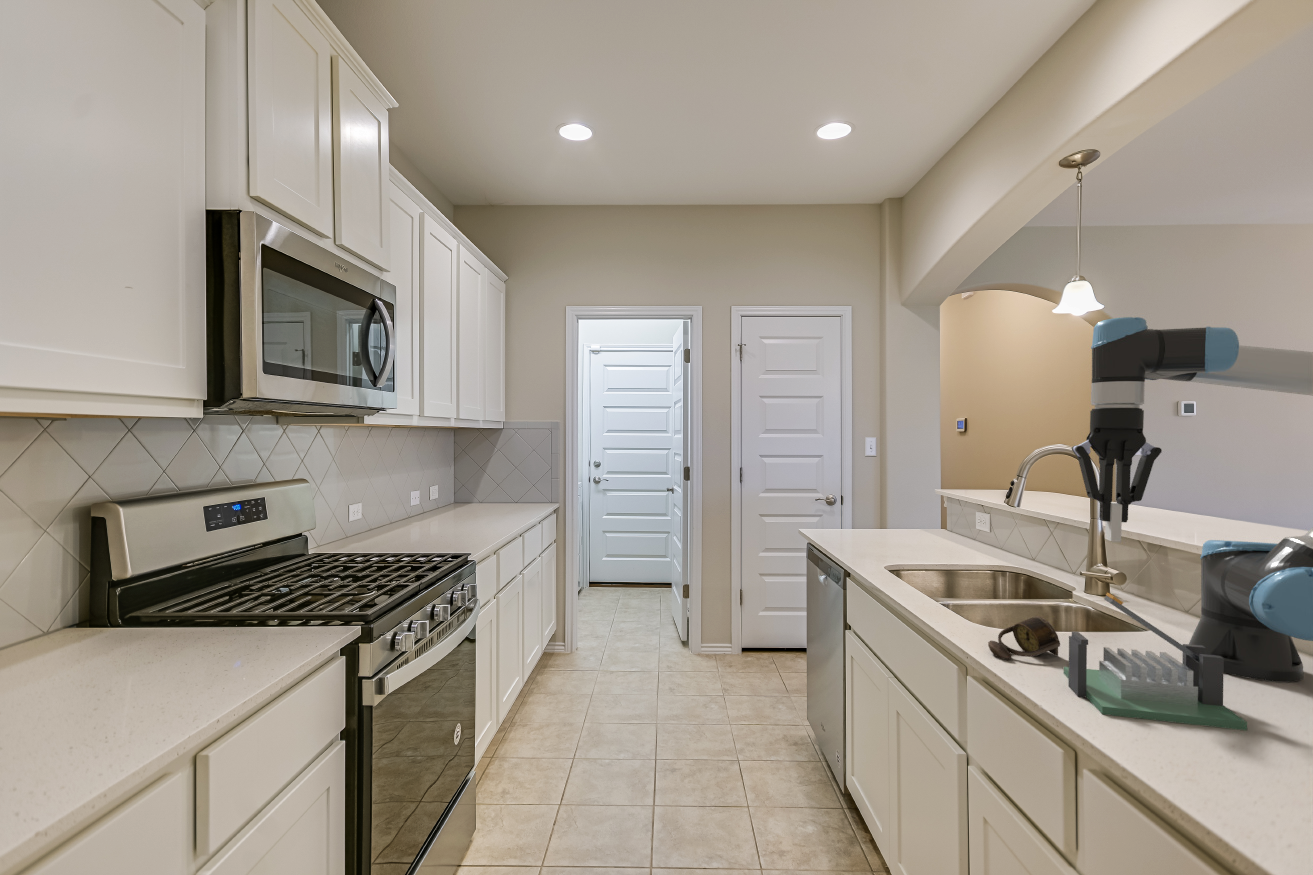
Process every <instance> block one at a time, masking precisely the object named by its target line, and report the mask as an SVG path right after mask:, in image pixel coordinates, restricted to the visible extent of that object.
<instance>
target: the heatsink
mask: <svg viewBox="0 0 1313 875" xmlns="http://www.w3.org/2000/svg"><path fill="white" fill-rule="evenodd" d="M1116 650H1117V651H1116V652H1115V651H1114V650H1113V649H1112V648H1111V647H1106V646H1104V647H1103V660H1099V661H1098V662H1099V663H1098V665H1099V666H1098V667H1099V669H1098V670H1099V678H1100V679H1101V680H1102V681H1103V682H1104V683H1105V684H1106V685H1107V686H1108V687H1109V688H1110V689H1111V690H1112V691H1114V692H1115V693H1116V694H1117V695H1118V696H1119V697H1120V698H1122V699H1132V700H1141V701H1151V702H1160V703H1170V704H1179V705H1189V706H1198V687H1197V686H1196V685H1194V684H1193V670H1191V669H1190V668H1188V667H1187V666H1185V665H1184V664H1182V663H1183V662H1181V661H1180V660H1178V659H1176V658H1175V657H1173V656H1172V655H1170V654H1169V653H1167V652H1165V651H1159V655H1158V654H1156V653H1155V652H1153V651H1152V650H1145V654H1144V653H1142V652H1141V651H1139V650H1138V649H1133V648H1132V649H1130V650H1131V653H1130V652H1128V651H1127V650H1126V649H1124V648H1120V647H1119V648H1118V647H1117V649H1116Z"/></svg>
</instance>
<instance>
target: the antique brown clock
mask: <svg viewBox="0 0 1313 875" xmlns="http://www.w3.org/2000/svg"><path fill="white" fill-rule="evenodd" d="M1009 633H1012V634H1013V638H1014V639H1015V641H1016V643H1017V645H1018V646H1019V648H1020V649H1021V650H1017V649H1014V648H1012V647H1009V646H1008V645H1006V644H1005V643H1004V642H1003V641H1002V638H1003V636H1004V635H1006V634H1009ZM997 640H998V641H996V640H990V641H988V642H987V643H988V644H987V646H988V648H989V651H990V652H991V653H992V654H993V655H994V656H996V658H999V659H1003V660H1011V658H1012V655H1014V656H1018V657H1036V656H1039V655H1041V654H1044V653H1046V652H1049V653H1051V654H1052V655H1054V656H1056V657H1058V656H1059V647H1061V641H1060V639H1059V636H1058V633H1057V632H1056V630H1055V629H1054V627H1053V625H1052V624H1051V623H1050V622H1049V621H1048V620H1046V618H1043V617H1041V616H1037V615H1035V616H1032V617H1030V618H1027V619H1025V620H1023V621H1020V622H1018V623H1015V624H1014V625H1012V626H1009V627H1007V628H1004V629H1002V630H1001V631H1000V632H999V633H998V636H997Z"/></svg>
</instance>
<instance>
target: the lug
mask: <svg viewBox="0 0 1313 875" xmlns="http://www.w3.org/2000/svg"><path fill="white" fill-rule="evenodd" d="M1088 646H1089V639H1088V638H1087V637H1085V636H1084V635H1083V634H1082V633H1080V632H1079V631H1071V635H1068V667H1069V679H1068V688H1070V689H1071V691H1072V692H1073V693H1074V694H1075V695H1076V696H1077V697H1079V698H1086V676H1087V669H1088V667H1087V662H1088V661H1087V657H1088V656H1087V654H1088V653H1087V652H1088V650H1087V649H1088V648H1087V647H1088Z"/></svg>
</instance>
